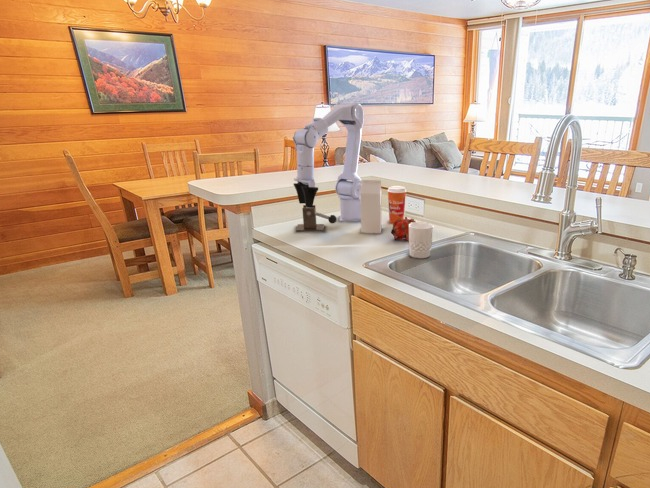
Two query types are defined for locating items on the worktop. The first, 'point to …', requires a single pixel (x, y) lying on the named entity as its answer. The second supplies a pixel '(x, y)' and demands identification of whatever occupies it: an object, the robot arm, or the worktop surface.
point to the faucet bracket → (309, 221)
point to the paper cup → (396, 202)
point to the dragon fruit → (401, 228)
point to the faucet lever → (326, 217)
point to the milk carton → (370, 206)
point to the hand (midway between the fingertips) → (305, 205)
